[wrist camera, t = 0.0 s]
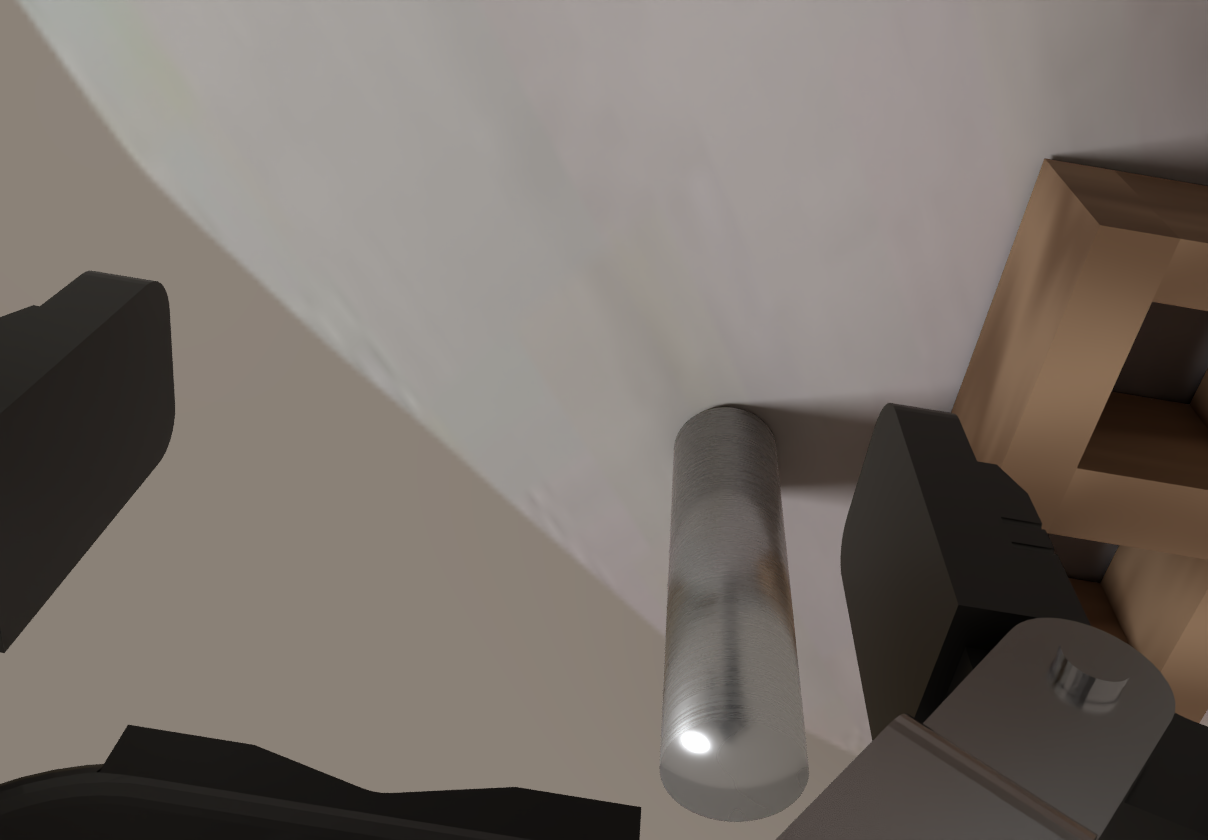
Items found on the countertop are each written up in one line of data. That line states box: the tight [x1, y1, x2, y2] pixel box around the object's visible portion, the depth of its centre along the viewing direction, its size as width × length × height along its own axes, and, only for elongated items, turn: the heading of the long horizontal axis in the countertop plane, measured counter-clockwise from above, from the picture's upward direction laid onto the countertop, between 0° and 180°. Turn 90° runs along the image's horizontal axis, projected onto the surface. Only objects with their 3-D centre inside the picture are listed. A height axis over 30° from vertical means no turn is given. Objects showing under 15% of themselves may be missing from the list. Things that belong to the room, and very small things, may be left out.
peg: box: [660, 407, 809, 822], centre depth 27 cm, size 3×3×12 cm
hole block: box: [951, 159, 1208, 723], centre depth 29 cm, size 14×8×4 cm, turn 172°
